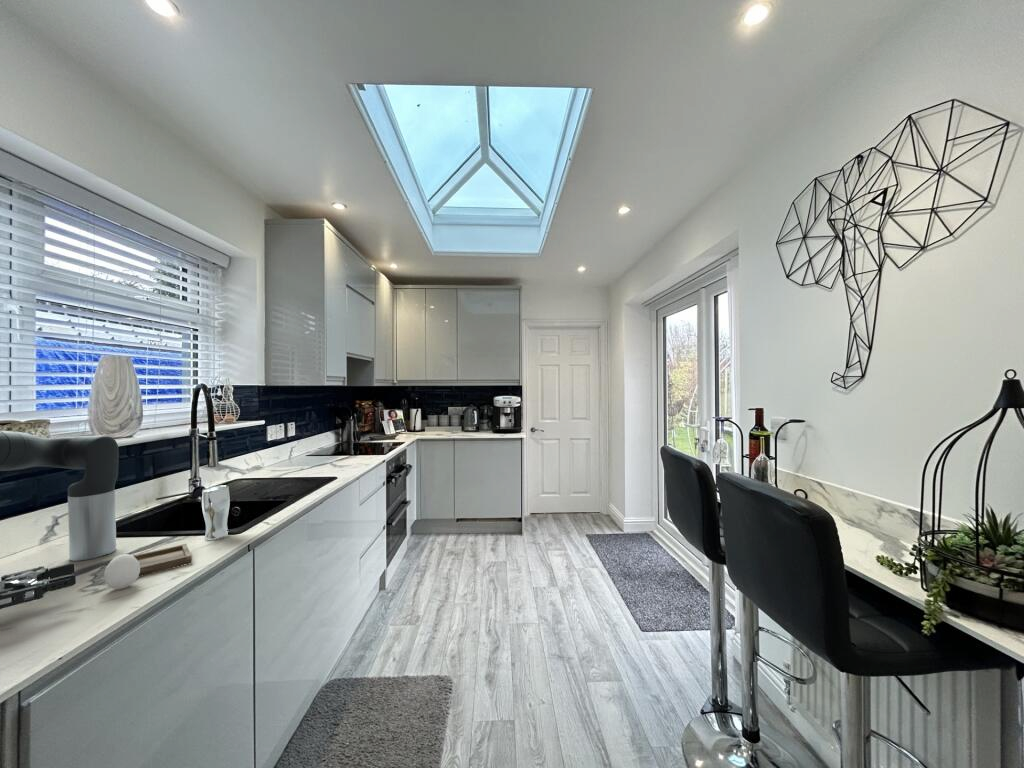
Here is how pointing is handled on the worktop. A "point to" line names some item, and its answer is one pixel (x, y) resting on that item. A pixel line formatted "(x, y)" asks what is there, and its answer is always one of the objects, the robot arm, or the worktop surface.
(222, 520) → the beer glass
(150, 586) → the worktop surface
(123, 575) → the egg
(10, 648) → the worktop surface
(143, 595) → the worktop surface
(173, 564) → the walnut tray
